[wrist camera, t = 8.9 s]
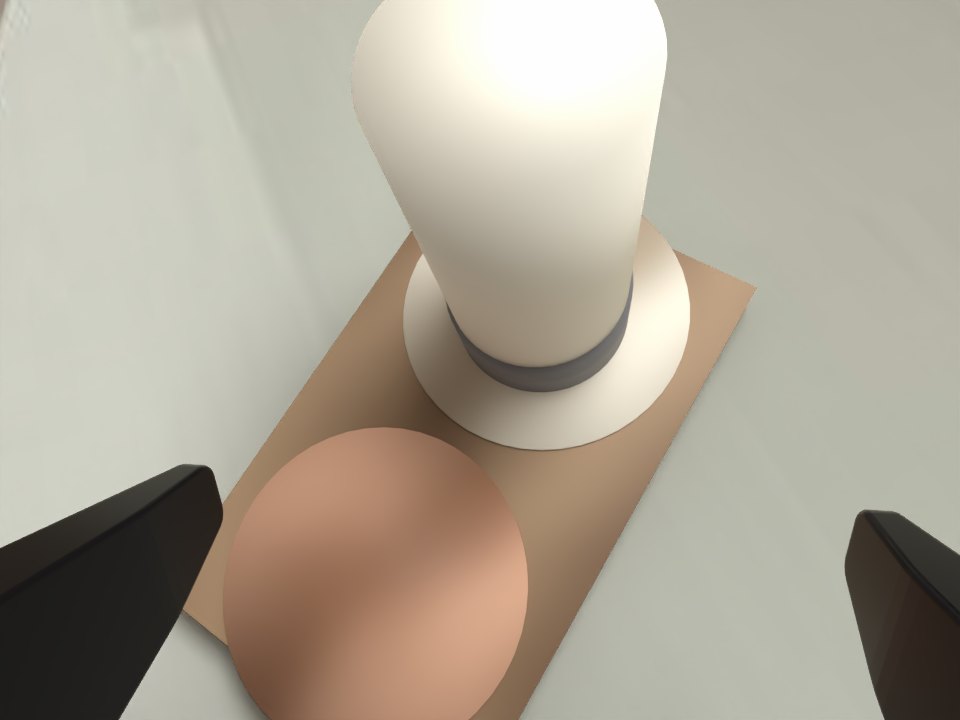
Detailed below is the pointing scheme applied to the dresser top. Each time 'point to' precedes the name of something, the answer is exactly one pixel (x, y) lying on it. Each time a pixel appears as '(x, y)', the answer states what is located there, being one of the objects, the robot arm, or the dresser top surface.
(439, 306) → the wooden coaster tray
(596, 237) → the frosted bulb lamp
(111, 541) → the robot arm
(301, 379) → the dresser top surface
